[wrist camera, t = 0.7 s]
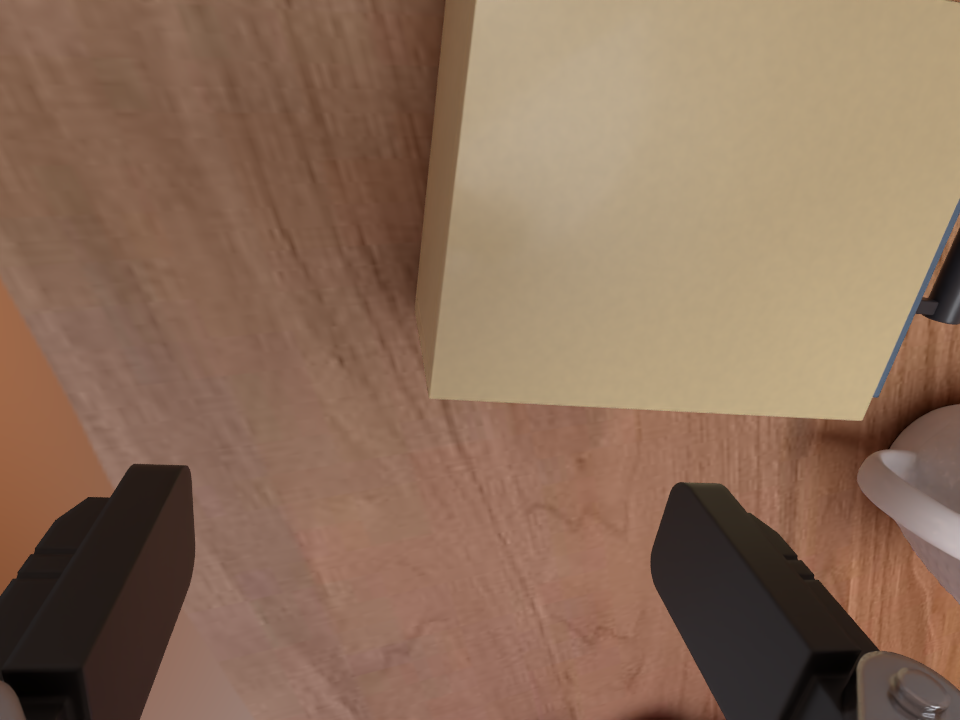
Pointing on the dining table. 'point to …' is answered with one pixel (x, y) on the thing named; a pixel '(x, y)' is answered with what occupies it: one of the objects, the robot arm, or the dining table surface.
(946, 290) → the drawer
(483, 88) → the cabinet
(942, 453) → the mug
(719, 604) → the robot arm
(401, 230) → the dining table surface
